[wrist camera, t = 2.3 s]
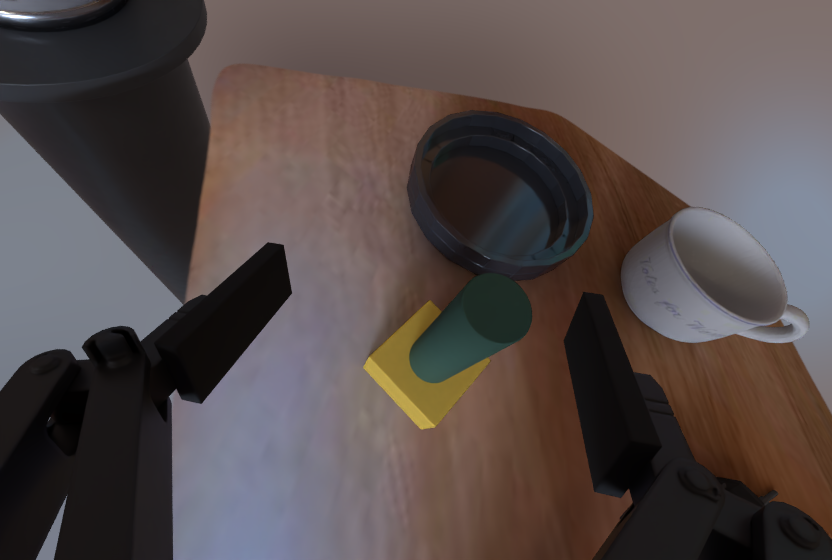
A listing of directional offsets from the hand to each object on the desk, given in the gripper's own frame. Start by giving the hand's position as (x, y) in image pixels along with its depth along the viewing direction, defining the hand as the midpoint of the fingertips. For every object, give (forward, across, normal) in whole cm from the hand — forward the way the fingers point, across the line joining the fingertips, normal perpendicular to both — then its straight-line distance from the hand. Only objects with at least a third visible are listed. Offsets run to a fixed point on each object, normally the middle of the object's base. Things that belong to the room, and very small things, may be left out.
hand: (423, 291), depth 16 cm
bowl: (+22, +3, -4) cm, 22 cm away
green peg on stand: (+6, 0, -11) cm, 13 cm away
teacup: (+19, +21, -12) cm, 31 cm away
